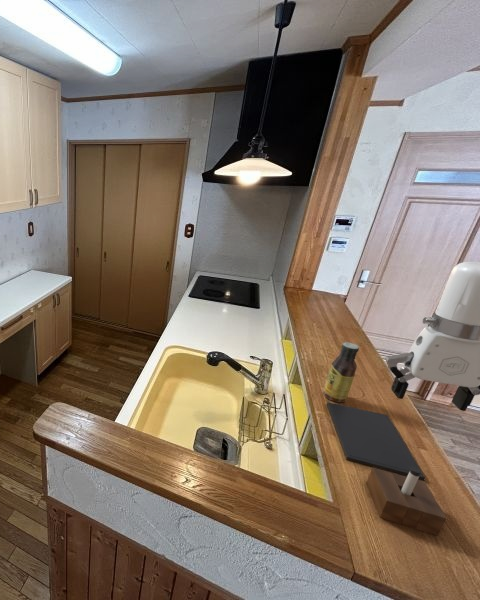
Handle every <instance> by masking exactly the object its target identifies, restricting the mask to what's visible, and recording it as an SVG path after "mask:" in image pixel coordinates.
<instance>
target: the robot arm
mask: <svg viewBox="0 0 480 600" xmlns="http://www.w3.org/2000/svg"><path fill="white" fill-rule="evenodd" d="M448 277H449V278H447V279H448V280H447V282H446V284H445V287H444V289H443V292H442V295H441V297H440V299H439V301H438V303H437V306H436V309H435V312H434V313H432V316H431V317H423V318H422V324H424V325H428V326H425V327H424V328H423V329H422V330H421V331H420V332H419V334H418V335H417V337H416V338H415V339H414V341H413V343H412V344H411V347H410V348H409V350H408V352H406V353H399V354H394V355H389V356H388V355H387V356H386V357H385V358H384V359H385V362H386V365H387V369H389V371H390V372H391V373H392V374H393V375H394V376H395V377H394V380H393V382H392V385H391V389H390V390H391V392H392V393H393V394H394V395H395V397H396V398H397V399H399V400H402V399H404V398H405V395H406V393H407V390H408V388H409V383H408V381H410V380H412V379H415V378H416V379H419V380H423V381H428V382H432V383H439V384H445V385H451V386H457V389H456V390H455V393H454V395H453V397H452V400H451V403H452V404H453V405H454V406H455V407H456V408H457V409H458V410H460V411H462V412H466V411H467V409H468V407H470V406H471V404H472V402H473V400H474V398H475V396H480V261H463V262H460V263H458V264H456V265H455V266H453V268H452V270H451V272H450V274H449V276H448ZM401 363H404V364H403V365H404V366H402V367H400V368H398V364H401Z"/></svg>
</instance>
